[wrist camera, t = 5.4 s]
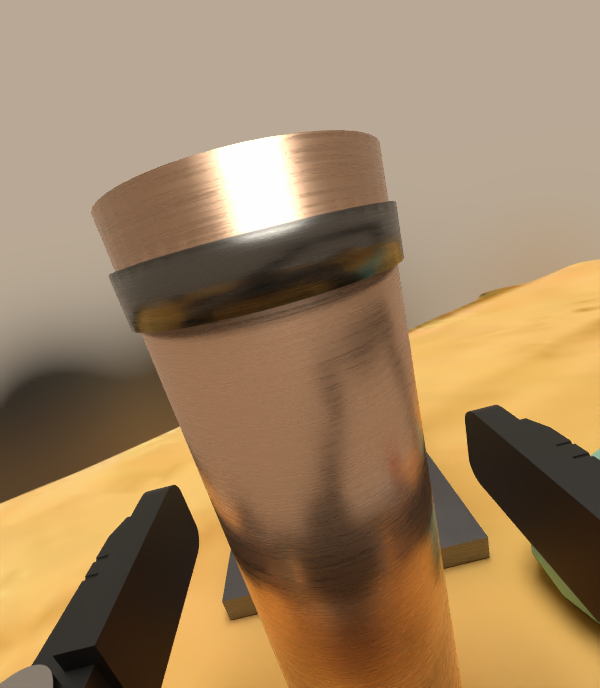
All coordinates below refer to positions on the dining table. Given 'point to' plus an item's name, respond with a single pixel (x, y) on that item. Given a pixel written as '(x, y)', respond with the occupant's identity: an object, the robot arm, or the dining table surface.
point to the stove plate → (453, 529)
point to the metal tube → (296, 393)
